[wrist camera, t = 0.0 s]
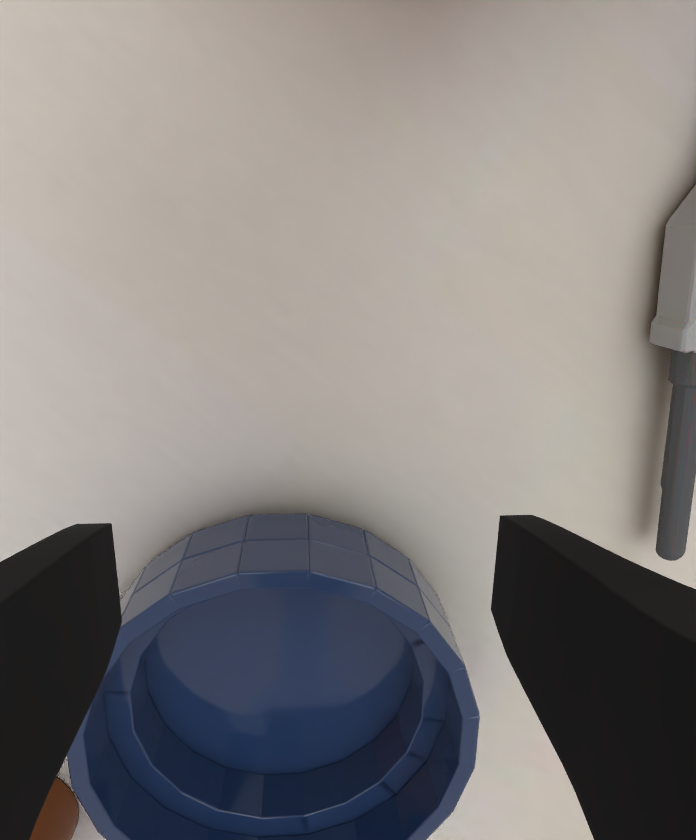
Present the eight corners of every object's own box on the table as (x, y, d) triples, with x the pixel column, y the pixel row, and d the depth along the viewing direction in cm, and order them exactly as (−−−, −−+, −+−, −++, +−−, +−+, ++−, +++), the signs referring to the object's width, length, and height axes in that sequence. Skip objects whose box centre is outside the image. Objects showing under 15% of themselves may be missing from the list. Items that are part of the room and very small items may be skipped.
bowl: (436, 780, 26) (463, 887, 21) (126, 797, 25) (90, 913, 20) (457, 502, 22) (495, 565, 18) (92, 509, 21) (38, 577, 17)
